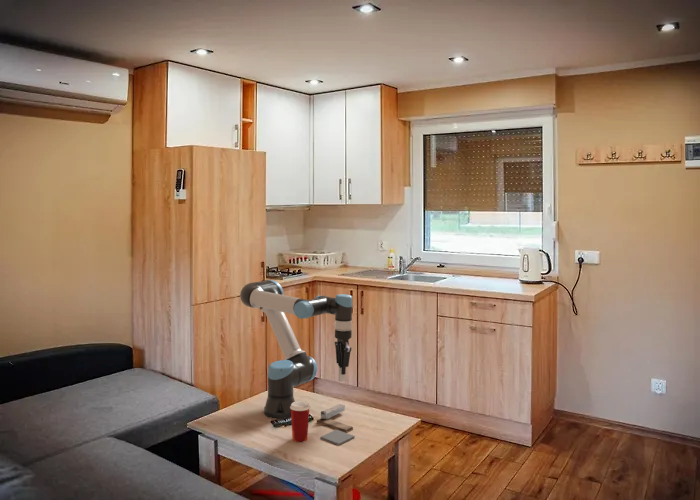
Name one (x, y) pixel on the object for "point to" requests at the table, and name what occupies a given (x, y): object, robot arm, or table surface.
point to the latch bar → (332, 411)
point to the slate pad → (337, 437)
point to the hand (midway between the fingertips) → (342, 380)
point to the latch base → (335, 425)
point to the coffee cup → (300, 420)
